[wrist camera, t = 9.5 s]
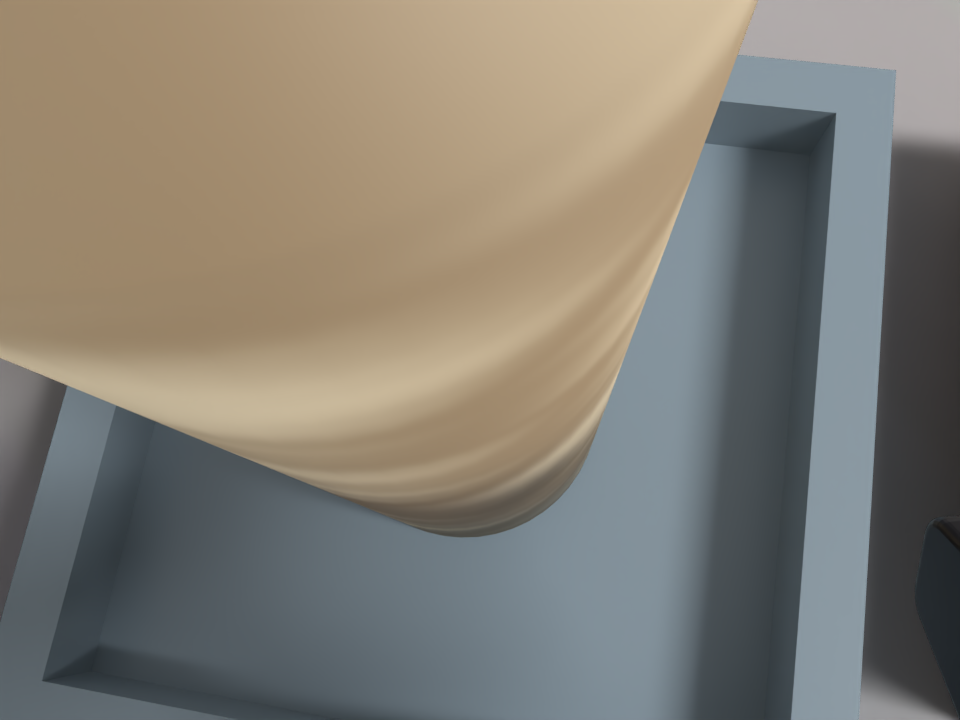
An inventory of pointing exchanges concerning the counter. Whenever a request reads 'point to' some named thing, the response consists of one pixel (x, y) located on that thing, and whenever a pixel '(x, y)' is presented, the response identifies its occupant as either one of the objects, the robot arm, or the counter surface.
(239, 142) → the dowel
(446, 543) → the tray
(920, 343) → the counter surface
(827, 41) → the counter surface
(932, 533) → the robot arm
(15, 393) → the counter surface
